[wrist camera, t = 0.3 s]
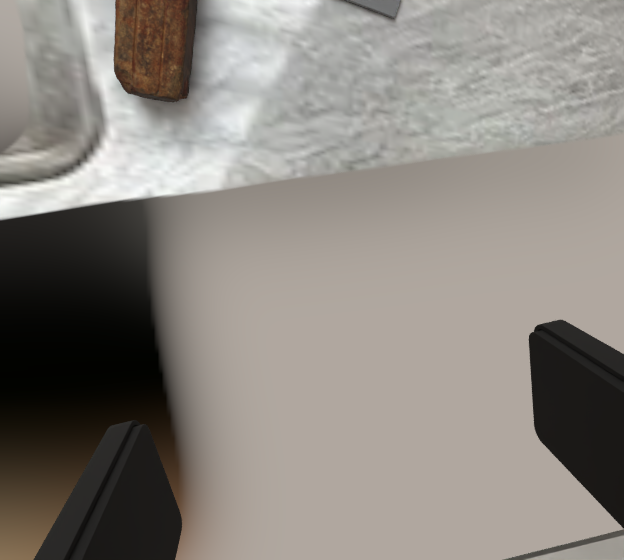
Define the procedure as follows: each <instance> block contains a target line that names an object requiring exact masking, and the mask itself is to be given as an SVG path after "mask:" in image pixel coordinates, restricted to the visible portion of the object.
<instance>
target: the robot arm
mask: <svg viewBox="0 0 624 560" xmlns="http://www.w3.org/2000/svg"><path fill="white" fill-rule="evenodd" d="M529 348H530V366H531V381H532V397H533V414H534V427H535V431H536V433H537V436H538V438H539V439H540V441H541V442H542V443H543V444H544V445H545V446H546V447H547V448H548V449H549V450H550V451H551V452H552V454H553V455H554V456H555V457H556V458H557V459H558V460H559V461H560V462H561V463H562V464H563V465H564V466H565V467H566V468H567V469H568V470H569V471H570V472H571V474H572V475H573V476H574V477H575V478H576V479H577V480H578V481H579V482H580V483H581V484H582V485H583V486H584V487H585V488H586V489H587V490H588V491H589V492H590V493H591V495H593V497H594V498H595V499H596V500H597V501H598V502H599V503H600V504H601V505H602V506H603V507H604V508H605V509H606V510H607V511H608V512H609V513H610V514H611V516H612V517H613V518H614V519H615V520H616V521H617V522H618V523H619V524H620V525H621V526H622V527H623V528H624V354H622V353H620V352H619V351H617V350H615V349H614V348H612V347H610V346H608V345H607V344H605V343H603V342H601V341H599V340H597V339H596V338H594V337H592V336H591V335H589V334H587V333H585V332H584V331H582V330H580V329H578V328H576V327H575V326H573V325H571V324H569V323H567V322H566V321H563V320H557V321H552V322H549V323H544V324H540V325H537V326H536V327H535V330H534V332H532V333H531V334H530V335H529ZM181 530H182V519H181V514H180V511H179V508H178V506H177V503H176V500H175V497H174V495H173V492H172V489H171V487H170V484H169V481H168V479H167V476H166V473H165V470H164V468H163V465H162V463H161V460H160V457H159V454H158V452H157V449H156V446H155V444H154V441H153V439H152V436H151V433H150V430H149V428H148V426H147V425H145V424H144V425H140V423H139V422H138V421H136V420H134V421H130V422H125V423H121V424H117V425H113V426H110V427H109V428H108V430H107V431H106V433H105V435H104V437H103V439H102V440H101V442H100V444H99V446H98V447H97V449H96V451H95V453H94V454H93V456H92V458H91V460H90V461H89V463H88V465H87V467H86V468H85V470H84V472H83V474H82V476H81V477H80V479H79V481H78V482H77V484H76V486H75V488H74V489H73V491H72V493H71V495H70V497H69V498H68V500H67V502H66V504H65V505H64V507H63V509H62V511H61V512H60V514H59V516H58V518H57V519H56V521H55V523H54V525H53V526H52V528H51V530H50V532H49V533H48V535H47V537H46V539H45V540H44V542H43V544H42V546H41V548H40V549H39V551H38V553H37V555H36V556H35V558H34V560H175V557H176V553H177V548H178V544H179V539H180V535H181ZM504 560H624V530H620V531H616V532H612V533H608V534H604V535H600V536H596V537H592V538H588V539H584V540H580V541H576V542H572V543H568V544H564V545H560V546H556V547H552V548H548V549H544V550H540V551H536V552H532V553H528V554H524V555H520V556H516V557H512V558H508V559H504Z"/></svg>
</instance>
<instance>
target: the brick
mask: <svg viewBox="0 0 624 560" xmlns="http://www.w3.org/2000/svg"><path fill="white" fill-rule="evenodd" d="M115 8H116V20H115V46H114V72H115V75H116V77H117V79H118V80H119V81H120V83H121V85H122V87H123V89H124V90H125V91H126V92H127V93H128V94H134V95H137V96H140V97H144V98H150V99H154V100H160V101H167V102H177V101H179V100H180V99H184V98H187V96H188V93H189V76H190V73H191V64H192V54H193V41H194V34H195V21H196V11H197V0H116V2H115Z"/></svg>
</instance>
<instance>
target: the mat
mask: <svg viewBox="0 0 624 560" xmlns="http://www.w3.org/2000/svg"><path fill="white" fill-rule="evenodd" d="M346 1H348V2H351V3H354V4H356V5H359V6H361V7H364V8H367V9H369V10H372V11H375V12H377V13H380V14H382V15H385V16H388V17H390V18H393V19H394V18H395V16H396V13H397V9H398V6H399V3H400V0H346Z"/></svg>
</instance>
